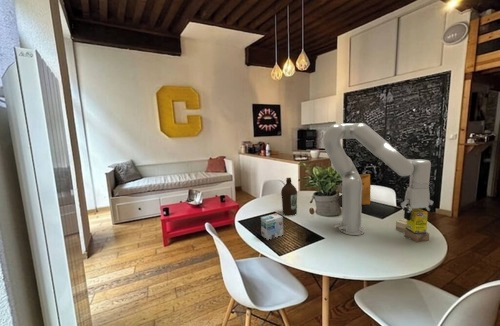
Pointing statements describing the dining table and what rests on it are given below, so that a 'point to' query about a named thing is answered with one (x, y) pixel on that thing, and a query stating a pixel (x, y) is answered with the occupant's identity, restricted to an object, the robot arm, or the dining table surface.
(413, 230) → the supplement box
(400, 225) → the oak cube
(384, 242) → the dining table surface
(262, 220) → the light bulb box
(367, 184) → the coffee package
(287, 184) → the olive oil
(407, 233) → the walnut block
